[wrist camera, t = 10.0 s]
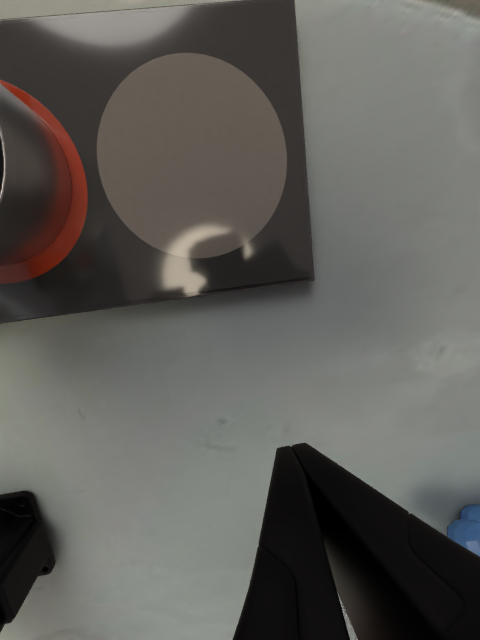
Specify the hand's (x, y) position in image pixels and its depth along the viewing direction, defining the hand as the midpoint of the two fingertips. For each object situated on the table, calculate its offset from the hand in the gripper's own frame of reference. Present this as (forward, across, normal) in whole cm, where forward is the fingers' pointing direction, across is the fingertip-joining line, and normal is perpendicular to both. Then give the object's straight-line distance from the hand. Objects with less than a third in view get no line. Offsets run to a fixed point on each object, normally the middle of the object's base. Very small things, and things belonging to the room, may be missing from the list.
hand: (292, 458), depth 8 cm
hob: (+11, +7, -11) cm, 17 cm away
